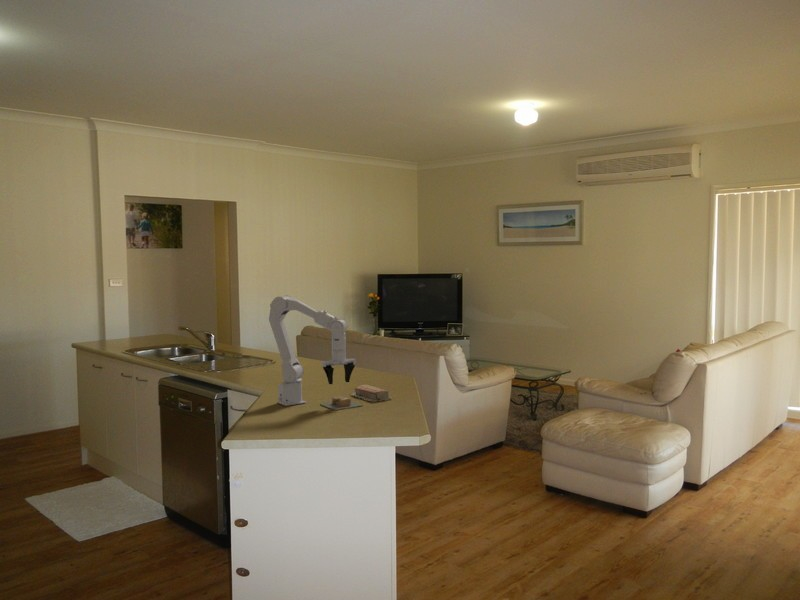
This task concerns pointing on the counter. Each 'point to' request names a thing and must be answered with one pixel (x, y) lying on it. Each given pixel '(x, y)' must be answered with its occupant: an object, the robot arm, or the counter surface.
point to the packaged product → (371, 393)
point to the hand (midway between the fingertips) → (338, 382)
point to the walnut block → (341, 401)
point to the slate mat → (335, 407)
